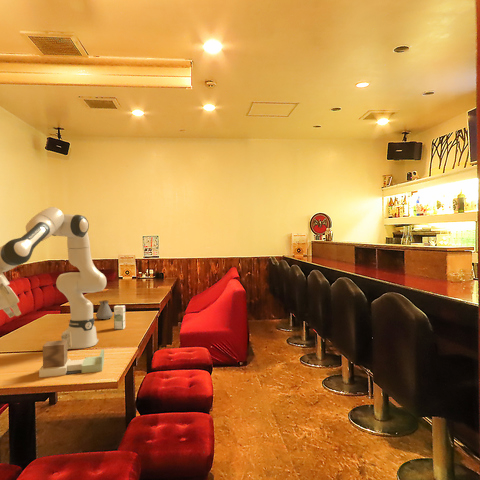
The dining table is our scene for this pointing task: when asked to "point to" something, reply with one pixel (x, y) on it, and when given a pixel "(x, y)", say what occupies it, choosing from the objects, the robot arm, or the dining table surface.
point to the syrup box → (119, 317)
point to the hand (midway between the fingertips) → (15, 316)
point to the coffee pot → (104, 310)
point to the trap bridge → (75, 366)
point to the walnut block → (55, 354)
